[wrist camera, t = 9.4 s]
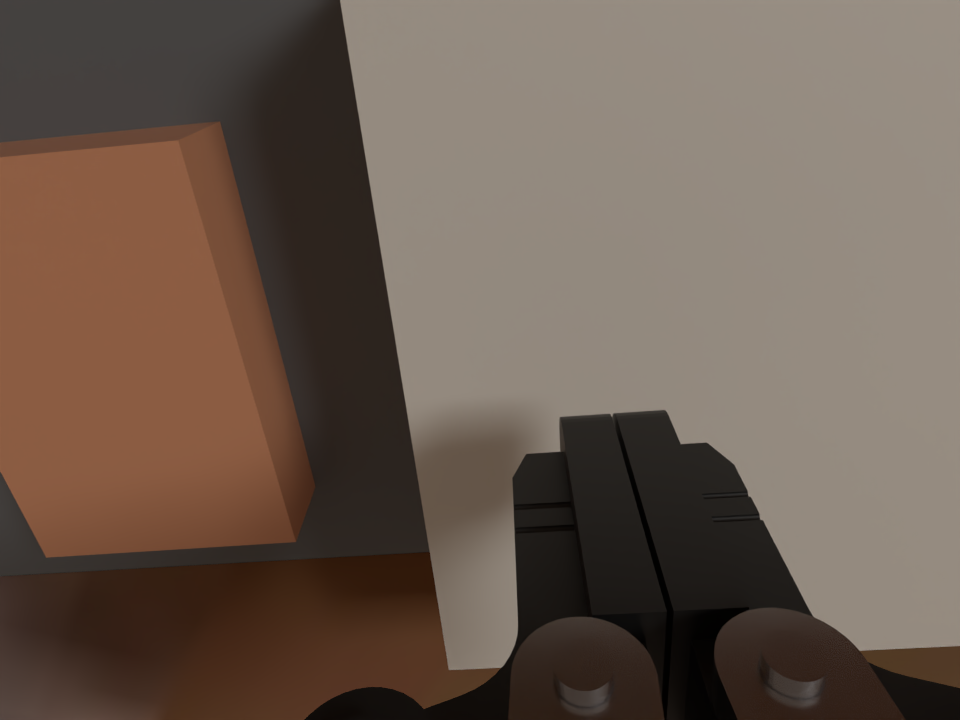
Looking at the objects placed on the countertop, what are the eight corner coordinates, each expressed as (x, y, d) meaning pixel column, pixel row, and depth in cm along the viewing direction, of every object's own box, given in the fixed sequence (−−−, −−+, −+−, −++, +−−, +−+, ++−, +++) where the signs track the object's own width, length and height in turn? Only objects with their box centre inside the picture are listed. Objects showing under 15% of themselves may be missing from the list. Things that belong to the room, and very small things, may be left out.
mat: (347, -46, 12) (345, -47, 12) (438, 543, 19) (437, 551, 18) (-383, 29, 13) (-402, 30, 12) (-47, 571, 19) (-55, 579, 19)
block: (-160, 172, 12) (-75, 149, 13) (46, 557, 16) (90, 501, 18) (178, 140, 11) (220, 121, 13) (296, 542, 16) (315, 486, 17)
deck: (1202, -133, 11) (1527, -193, 8) (981, 512, 18) (1102, 638, 14) (376, -48, 12) (328, -68, 8) (456, 542, 19) (448, 670, 15)
